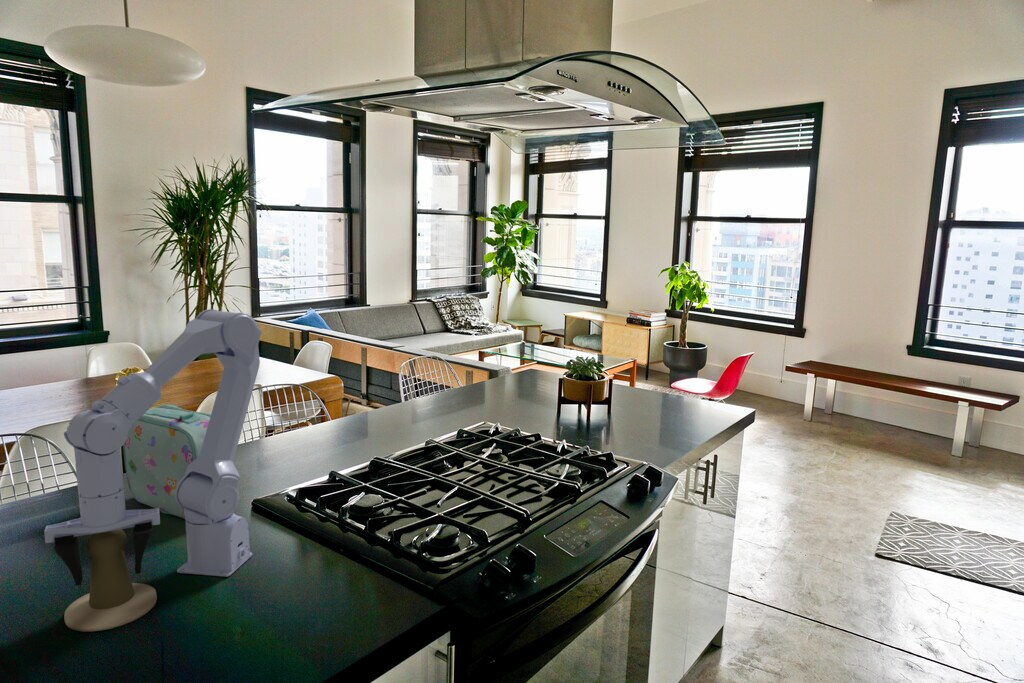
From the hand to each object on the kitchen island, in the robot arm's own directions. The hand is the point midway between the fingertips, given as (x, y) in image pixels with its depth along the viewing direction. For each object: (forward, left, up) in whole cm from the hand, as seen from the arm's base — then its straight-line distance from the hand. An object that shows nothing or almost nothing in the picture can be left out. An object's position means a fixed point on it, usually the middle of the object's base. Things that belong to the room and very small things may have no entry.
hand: (109, 576), depth 100 cm
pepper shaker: (+1, -1, -5) cm, 5 cm away
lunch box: (+13, -37, -6) cm, 40 cm away
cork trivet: (0, 0, -5) cm, 5 cm away
